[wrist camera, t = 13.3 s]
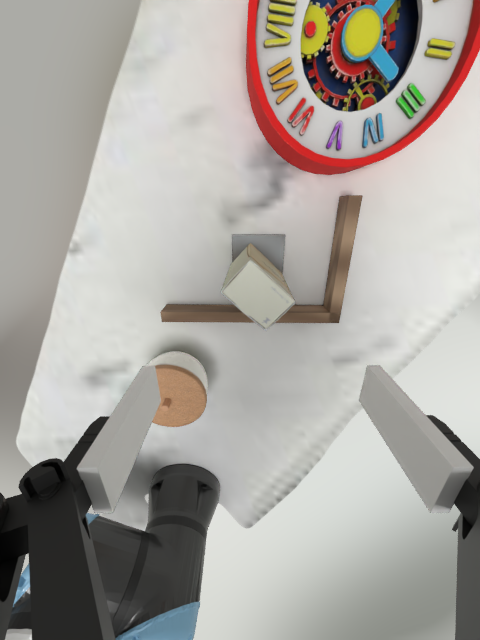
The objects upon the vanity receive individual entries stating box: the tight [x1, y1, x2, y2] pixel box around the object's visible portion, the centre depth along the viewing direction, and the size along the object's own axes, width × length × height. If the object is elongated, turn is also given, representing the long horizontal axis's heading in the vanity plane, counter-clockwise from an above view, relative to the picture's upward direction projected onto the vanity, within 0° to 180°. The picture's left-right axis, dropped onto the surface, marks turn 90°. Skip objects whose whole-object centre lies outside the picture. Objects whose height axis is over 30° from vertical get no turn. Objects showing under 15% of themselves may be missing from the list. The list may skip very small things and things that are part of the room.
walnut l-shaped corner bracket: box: [161, 196, 362, 323], centre depth 33 cm, size 16×25×3 cm, turn 90°
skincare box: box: [221, 243, 295, 331], centre depth 29 cm, size 6×4×12 cm
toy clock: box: [246, 0, 480, 175], centre depth 23 cm, size 20×6×20 cm
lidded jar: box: [146, 351, 208, 427], centre depth 37 cm, size 11×11×9 cm
